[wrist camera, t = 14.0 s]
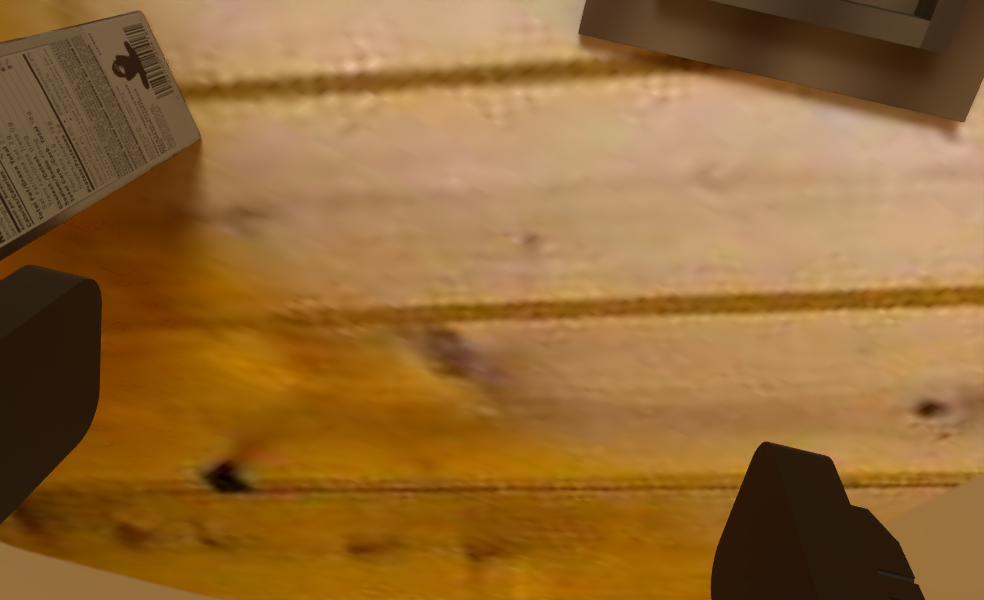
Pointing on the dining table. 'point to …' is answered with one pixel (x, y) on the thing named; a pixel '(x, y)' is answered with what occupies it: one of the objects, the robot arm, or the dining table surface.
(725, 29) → the tray
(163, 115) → the coffee box
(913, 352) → the dining table surface
